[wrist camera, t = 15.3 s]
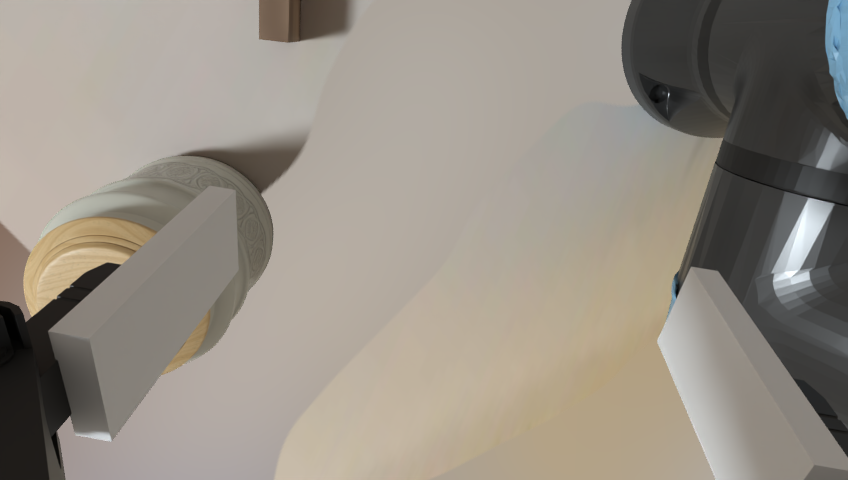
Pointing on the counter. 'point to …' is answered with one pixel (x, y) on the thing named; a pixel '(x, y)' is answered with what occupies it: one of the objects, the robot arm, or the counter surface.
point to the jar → (137, 223)
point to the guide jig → (279, 20)
